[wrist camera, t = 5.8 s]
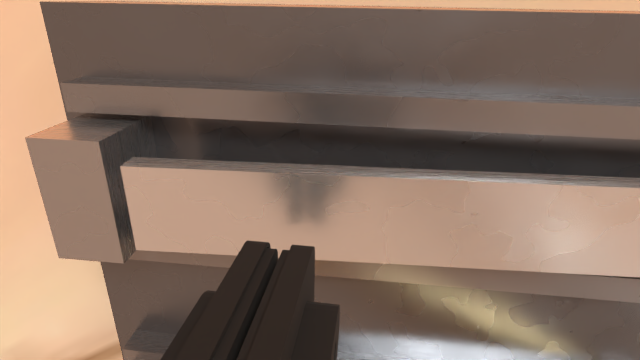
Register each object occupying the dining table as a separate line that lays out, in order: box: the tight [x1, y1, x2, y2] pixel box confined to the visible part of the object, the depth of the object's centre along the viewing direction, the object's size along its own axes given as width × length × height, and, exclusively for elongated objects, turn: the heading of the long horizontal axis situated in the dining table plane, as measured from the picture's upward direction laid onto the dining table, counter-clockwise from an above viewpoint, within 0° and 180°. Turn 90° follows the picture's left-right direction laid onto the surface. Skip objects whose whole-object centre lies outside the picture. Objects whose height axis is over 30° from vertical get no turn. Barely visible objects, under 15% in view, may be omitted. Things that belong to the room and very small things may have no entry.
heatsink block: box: [25, 1, 640, 360], centre depth 18 cm, size 26×24×7 cm
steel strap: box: [120, 157, 640, 277], centre depth 13 cm, size 21×3×1 cm, turn 89°
